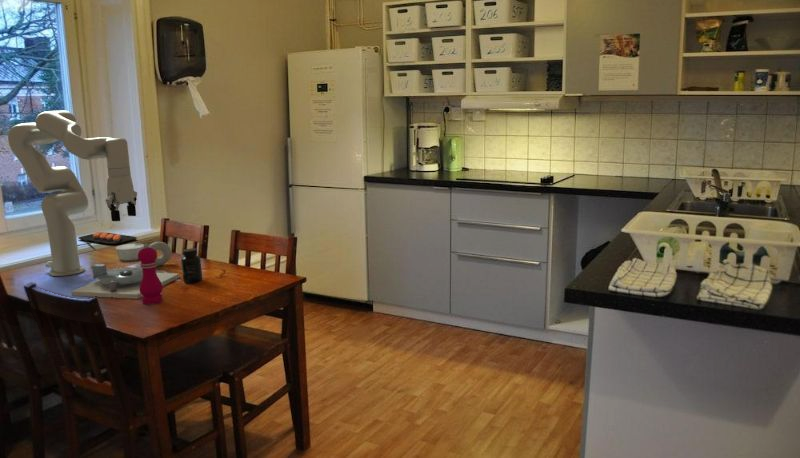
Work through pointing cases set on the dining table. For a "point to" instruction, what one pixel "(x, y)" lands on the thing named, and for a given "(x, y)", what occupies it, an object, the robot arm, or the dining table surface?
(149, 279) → the pepper mill
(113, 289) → the steel dowel
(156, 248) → the donut
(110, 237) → the sushi plate
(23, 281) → the dining table surface
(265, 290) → the dining table surface
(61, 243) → the robot arm
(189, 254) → the supplement bottle
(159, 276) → the base board
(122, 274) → the flange plate
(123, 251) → the ramekin
